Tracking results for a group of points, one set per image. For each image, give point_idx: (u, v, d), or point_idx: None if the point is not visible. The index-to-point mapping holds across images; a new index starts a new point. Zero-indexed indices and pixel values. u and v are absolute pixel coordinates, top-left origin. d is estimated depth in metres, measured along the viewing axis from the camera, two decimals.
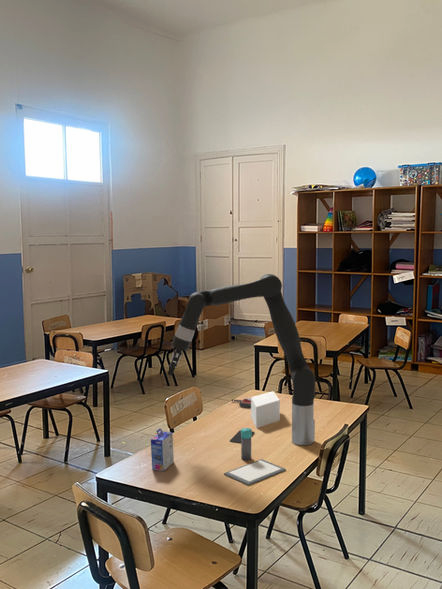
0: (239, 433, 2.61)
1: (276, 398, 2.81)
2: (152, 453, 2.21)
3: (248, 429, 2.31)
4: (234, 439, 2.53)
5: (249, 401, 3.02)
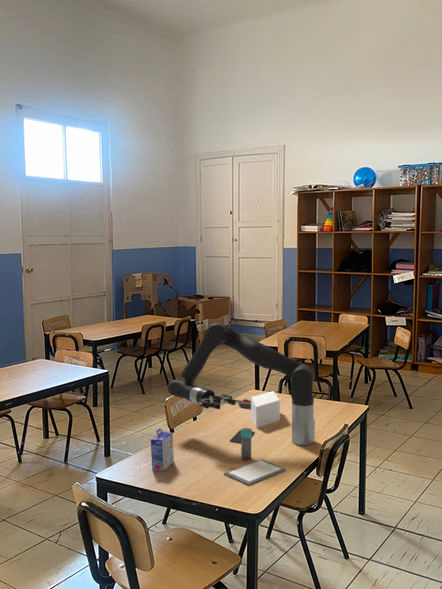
0: (239, 433, 2.61)
1: (276, 398, 2.81)
2: (152, 453, 2.21)
3: (248, 429, 2.31)
4: (234, 439, 2.53)
5: (249, 401, 3.02)
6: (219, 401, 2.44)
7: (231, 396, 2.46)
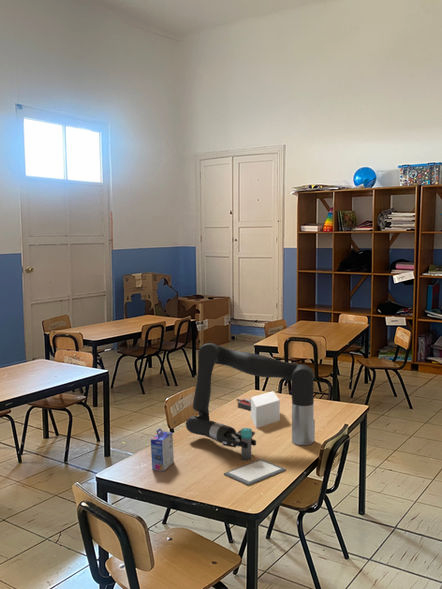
0: None
1: (276, 398, 2.81)
2: (152, 453, 2.21)
3: (248, 429, 2.31)
4: None
5: (247, 402, 3.00)
6: (238, 440, 2.35)
7: None
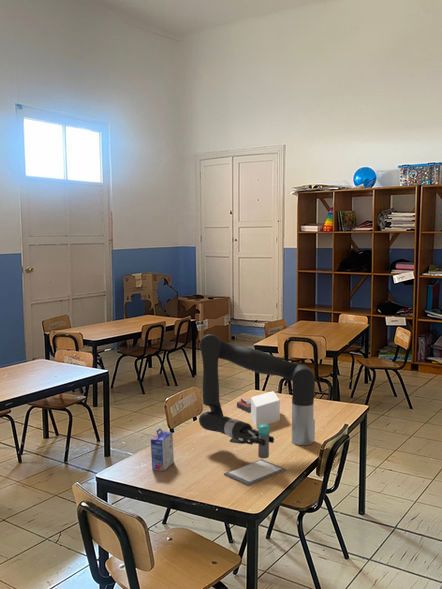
0: None
1: (276, 398, 2.81)
2: (152, 453, 2.21)
3: (266, 425, 2.21)
4: (234, 439, 2.53)
5: (245, 402, 3.00)
6: None
7: None
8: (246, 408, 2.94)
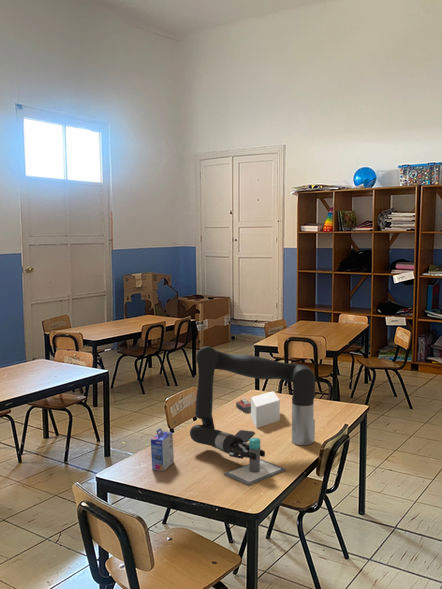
0: (239, 433, 2.61)
1: (276, 398, 2.82)
2: (152, 453, 2.21)
3: (257, 439, 2.18)
4: None
5: (243, 403, 2.99)
6: None
7: None
8: (242, 408, 2.94)
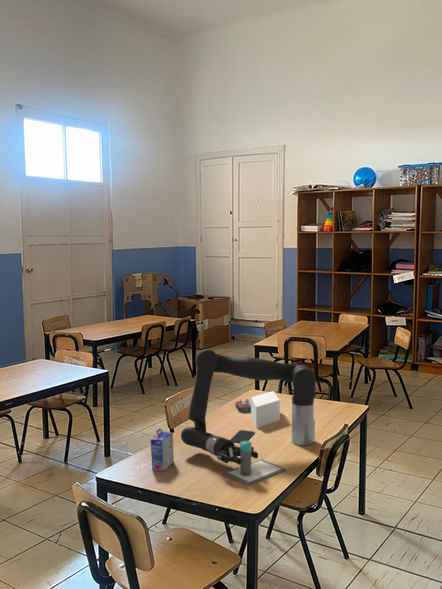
0: (239, 433, 2.61)
1: (276, 398, 2.82)
2: (152, 453, 2.21)
3: (248, 442, 2.15)
4: (234, 439, 2.53)
5: (242, 403, 2.99)
6: (239, 453, 2.19)
7: (253, 447, 2.21)
8: (239, 408, 2.94)
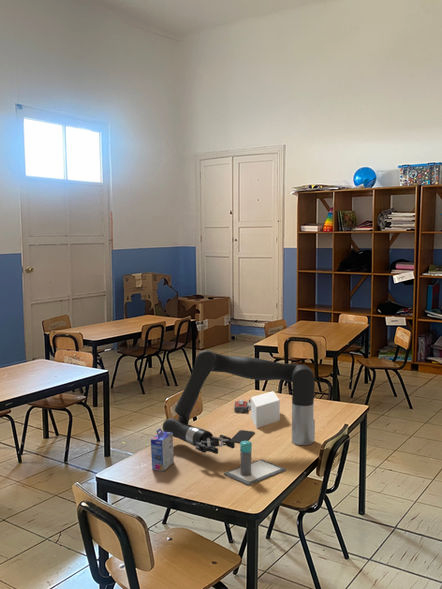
0: (239, 433, 2.61)
1: (276, 398, 2.82)
2: (152, 453, 2.21)
3: (248, 442, 2.15)
4: (234, 439, 2.53)
5: None
6: (217, 444, 2.28)
7: (230, 438, 2.31)
8: (234, 408, 2.94)
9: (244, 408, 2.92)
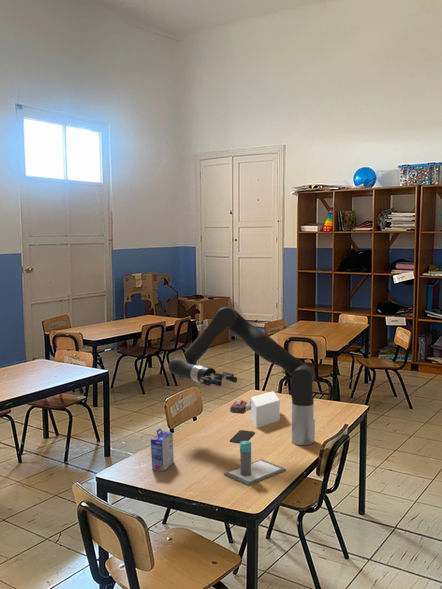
0: (239, 433, 2.61)
1: (276, 398, 2.82)
2: (152, 453, 2.21)
3: (247, 442, 2.15)
4: (234, 439, 2.53)
5: None
6: (220, 379, 2.41)
7: (232, 374, 2.43)
8: None
9: (239, 408, 2.92)
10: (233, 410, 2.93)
